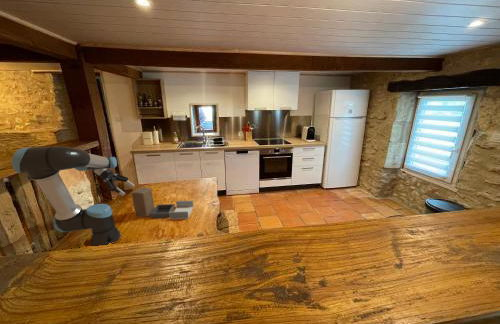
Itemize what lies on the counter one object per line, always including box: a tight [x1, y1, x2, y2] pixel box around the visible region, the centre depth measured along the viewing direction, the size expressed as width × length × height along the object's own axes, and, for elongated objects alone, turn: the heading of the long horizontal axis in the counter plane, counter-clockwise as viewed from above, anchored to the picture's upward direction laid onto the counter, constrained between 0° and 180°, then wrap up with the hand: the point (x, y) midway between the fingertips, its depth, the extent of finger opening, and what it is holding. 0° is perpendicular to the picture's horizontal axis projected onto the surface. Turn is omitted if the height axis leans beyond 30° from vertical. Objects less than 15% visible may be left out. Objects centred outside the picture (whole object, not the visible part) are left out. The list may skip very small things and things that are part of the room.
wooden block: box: [131, 187, 155, 218], centre depth 152 cm, size 10×10×20 cm
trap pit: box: [149, 203, 176, 219], centre depth 155 cm, size 14×14×4 cm
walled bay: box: [170, 200, 194, 220], centre depth 156 cm, size 13×18×6 cm
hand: (128, 190), depth 149 cm, fingers open, 13 cm apart
